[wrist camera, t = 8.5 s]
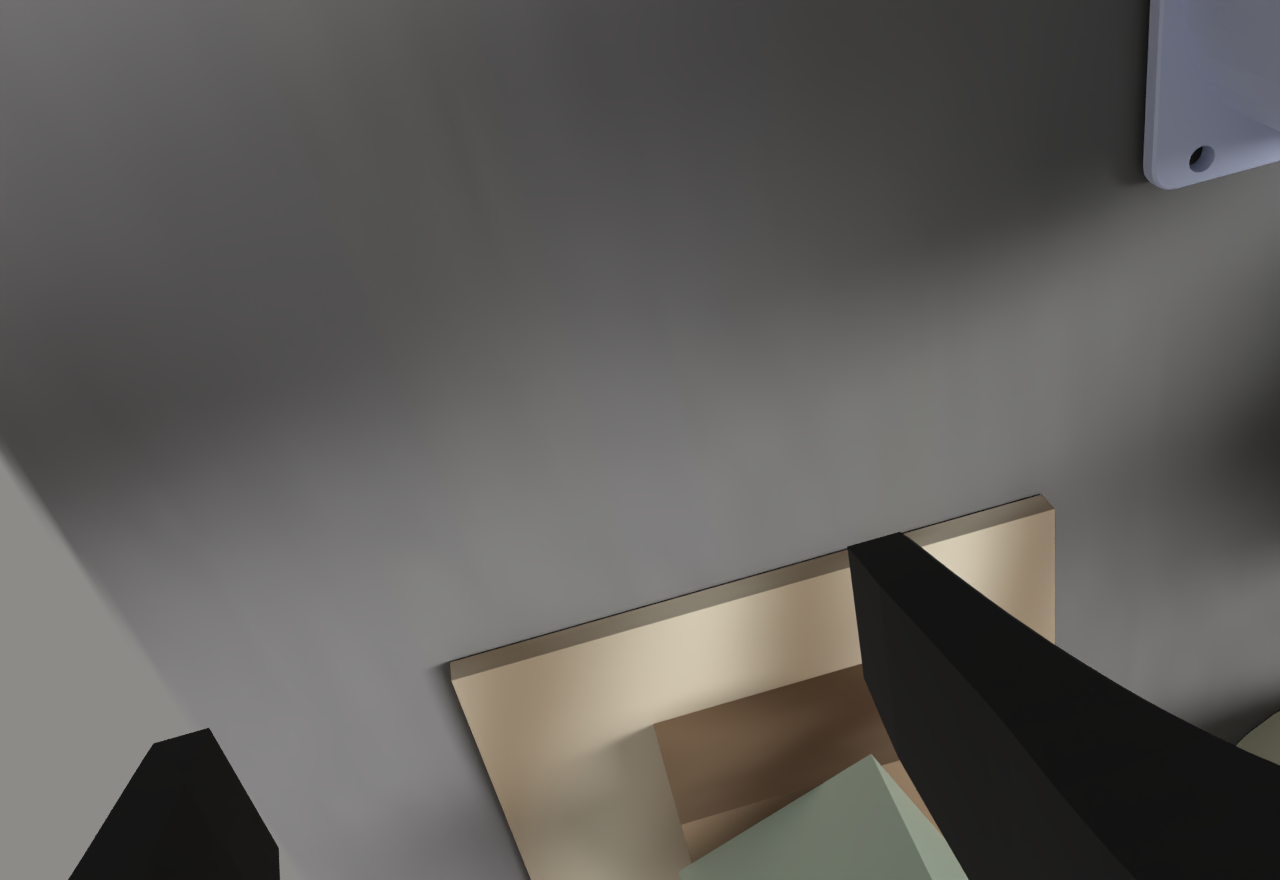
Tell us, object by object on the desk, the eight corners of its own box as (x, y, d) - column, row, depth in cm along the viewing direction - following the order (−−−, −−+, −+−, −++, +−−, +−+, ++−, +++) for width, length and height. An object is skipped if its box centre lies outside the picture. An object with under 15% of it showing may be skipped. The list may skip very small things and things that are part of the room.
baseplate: (1041, 494, 26) (1127, 591, 23) (1044, 827, 33) (1112, 937, 30) (450, 662, 26) (459, 785, 23) (571, 969, 32) (591, 1097, 29)
